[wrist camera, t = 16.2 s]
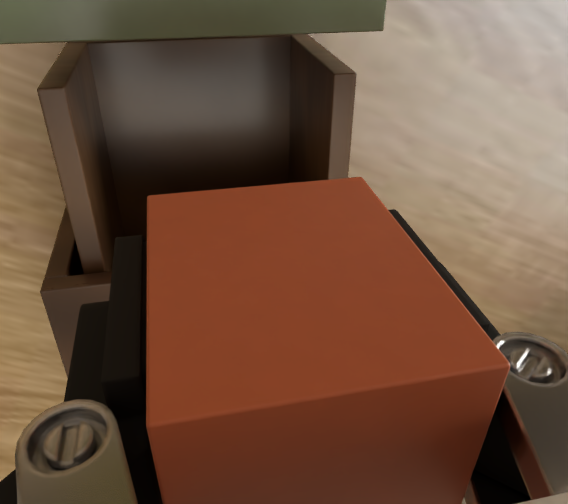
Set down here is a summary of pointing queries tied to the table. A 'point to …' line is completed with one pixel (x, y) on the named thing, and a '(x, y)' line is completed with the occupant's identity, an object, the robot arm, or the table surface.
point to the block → (307, 353)
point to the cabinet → (69, 289)
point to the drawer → (187, 100)
